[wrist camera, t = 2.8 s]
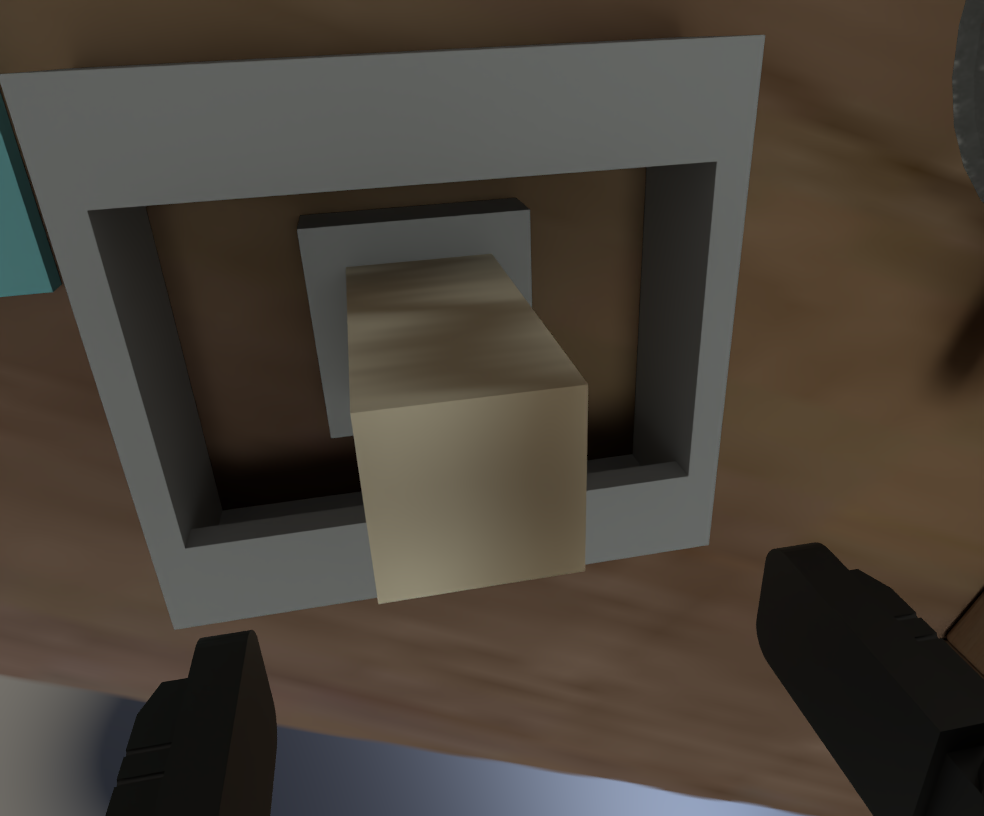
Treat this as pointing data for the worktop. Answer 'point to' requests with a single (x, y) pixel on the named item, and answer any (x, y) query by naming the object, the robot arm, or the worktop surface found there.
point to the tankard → (970, 92)
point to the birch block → (463, 429)
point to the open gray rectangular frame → (390, 261)
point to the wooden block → (970, 636)
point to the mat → (21, 226)
